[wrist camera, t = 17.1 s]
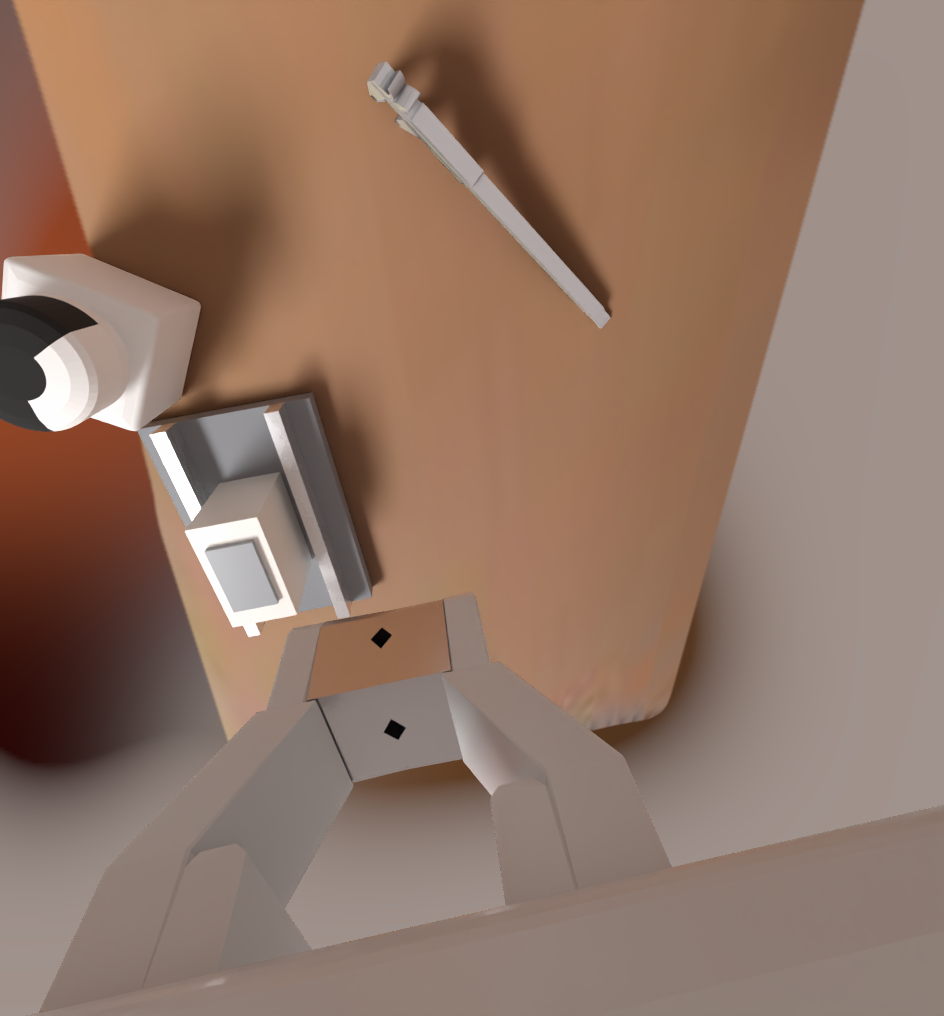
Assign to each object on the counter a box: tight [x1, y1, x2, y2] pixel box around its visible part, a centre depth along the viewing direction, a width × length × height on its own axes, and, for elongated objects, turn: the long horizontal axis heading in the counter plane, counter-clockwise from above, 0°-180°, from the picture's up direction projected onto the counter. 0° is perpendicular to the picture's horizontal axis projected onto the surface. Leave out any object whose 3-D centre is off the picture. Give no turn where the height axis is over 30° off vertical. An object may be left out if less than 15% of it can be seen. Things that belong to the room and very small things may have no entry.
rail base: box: [137, 392, 373, 612], centre depth 40 cm, size 18×12×2 cm, turn 9°
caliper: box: [367, 62, 610, 329], centre depth 31 cm, size 20×1×6 cm, turn 50°
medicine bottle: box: [0, 254, 201, 432], centre depth 28 cm, size 7×7×12 cm
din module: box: [185, 472, 312, 627], centre depth 36 cm, size 8×4×7 cm, turn 8°
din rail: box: [150, 403, 352, 637], centre depth 39 cm, size 18×8×2 cm, turn 9°
